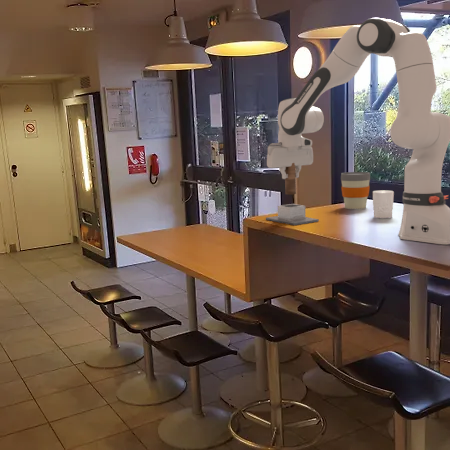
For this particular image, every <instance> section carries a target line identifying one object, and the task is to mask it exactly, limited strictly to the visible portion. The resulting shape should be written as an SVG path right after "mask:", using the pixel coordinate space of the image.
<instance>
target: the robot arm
mask: <svg viewBox="0 0 450 450" xmlns="http://www.w3.org/2000/svg"><path fill="white" fill-rule="evenodd" d="M372 54H373V55H376V56H379V57H390V58H393V61H394V64H395V65H394V66H395V73H396V79H397V88H398V99H399V100H398V109H397V113H396V118H395V119H394V120H393V122H392V123H391V127H390V133H389V134H390V138H391V140H392V142H393V143H394V145H396V146H398V147H400V148H403V149H407V150H413V151H412V153H411V156H410V159H409V161H408V162H407V163H406V165H405V166H404V179H403V180H404V181H403V182H404V183H403V184H404V186H403V189H404V191H402V205H403V210H402V218H401V224H400V228H399V230H398V236H399V239H400V240H405V241H415V242H421V243H428V244H436V245H443V246H444V245H450V207H449V206H448V205H447V204H446V203H447V201H446V200H448V199H449V194H448V195H444V193H443V192H442V174H443V173H442V171H443V170H442V169H443V165H444V159H445V156H446V153H447V149H448V146H449V145H450V115H448V114H445V113H442V112H440V111H439V112H438V111H433V112H432V109H431V108H432V101H433V98H434V97H433V96H434V95H435V94H436V92H437V80H436V75H435V68H434V62H433V56H432V52H431V49H430V45H429V42H428V39H427V37H426V36H425V34H423V33H421V32H418V31H411V29H410V28H409V27H407V25H405V24H403V23H399V22H396V21H394V20H392V19H388V18H387V19H386V18H380V17H372V18H368V19H366V20H364V21H363V22H362V23H361V24H360V25H358V24H357V25H353V26H350V27H349V28H348V29H347V30H346V31H345V32H344V33H343V35H342V36H341V38H340V39H339V40H338V42H337V43H336V44H335V46H334V47H333V50H332V51H331V53H330V54H329V56H328V57H327V58H326V59H325V62H323V63H322V65H321V66H320V67H319V68H318V69H317V70H316V71H315V72H314V73H313V74H312V76H311V77H310V78H309V80H307V82H306V84H305V85H304V86H303V88H302V90H301V91H300V92H299V93H298V94H297V96H296V97H290V98H286V99H283V100H281V101H280V102H279V104H278V109H277V124H278V127H279V128H278V132H277V133H278V135H277V137H278V141H277V142H274V143H273V142H272V143H270V144H269V145H268V146H267V155H266V166H267V167H268V168H269V169H279V172H280V173H281V179H282V180H285V179H288V174H286V173H285V170H286V167H290V166H292V163H295V170H296V179H297V178H299V177H300V172H301V170H302V166H309V165H312V164H313V163H314V151H313V150H314V149H313V147H312V146H313V140H312V139H309V138H306V137H304V136H303V135H302V134H311V133H316V132H318V131H320V130H321V129H322V128H323V127H324V124H325V114H324V112H323V111H322V109H320V108H319V107H316V106H314V105H315V103H317V101H318V99H319V98H320V97H321V96H322V94H324V93H325V92H327V91H329V90H330V89H332V88H334V87H335V88H336V87H338V86H340V85H344V84H347V83H348V82H350V81H351V80H352V79H353V78H354V77H355V76H356V75H357V73H358V72H359V70H360V69H361V67H362V65H363V64H364V62H365V60H366V59H367V58H368V57H369V56H370V55H372Z"/></svg>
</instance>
